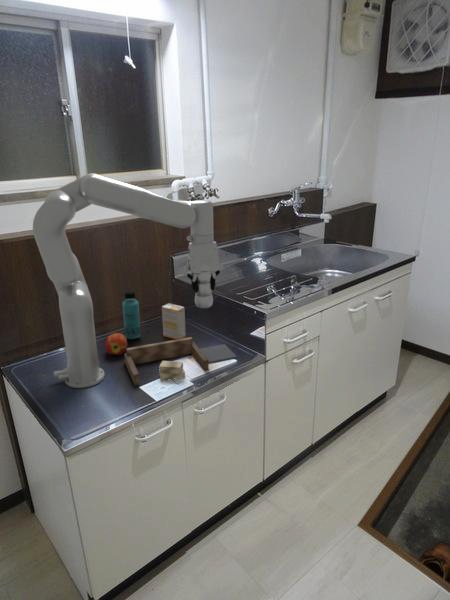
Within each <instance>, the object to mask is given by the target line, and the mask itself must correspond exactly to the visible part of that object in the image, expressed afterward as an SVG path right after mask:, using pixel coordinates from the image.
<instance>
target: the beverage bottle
mask: <svg viewBox="0 0 450 600" xmlns="http://www.w3.org/2000/svg"><path fill="white" fill-rule="evenodd" d="M124 298H125V300H123V302H122V303H121V304H122V317H123V318H122V319H123V321H122V322H123V323H122V324H123V331H124V333H123V335H124V336H125V337H126V339H127V340H135V339H138V338H140V337H141V333H142V332H141V319H140V307H139V306H140V305H139V304H140V303H139V301H138V300H137V299H136V292H135V291H134V290H127V291H125V292H124Z"/></svg>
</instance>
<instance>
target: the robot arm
mask: <svg viewBox="0 0 450 600" xmlns="http://www.w3.org/2000/svg"><path fill="white" fill-rule="evenodd" d="M91 205H94V206H98V207H101V208H106V209H109V210H114V211H117V212H121V213H125V214H128V215H130V216H131V215H132V216H135V217H138V218H140V219H146V220H150V221H152V222H157V223H161V224H163V225H168V226H170V227H174V228H177V229H178V228H179V229H189V227H190V233H189V236H186V240H187V241H190V242H189V243H188V250H187V259H186V260H187V263H186V264H185V266H184V267H183V269H182V270H181V273H182V274H183V275H184V276H186V277H187V278H188V279H190V282H191V284H190V285H191V290H192V291H193V292H194V293H195V294H196V293H197V292H198V283H197V281H196V278H197V274H200V273H202V272H201V268H202V266H204V265H209V267H210V272H212V274H211V290H212V291H215V287H216V279H217V277H218V276H219V275H220V273H221V271H223V270H224V269H225V266H224V265H223V264H222V263H221V262H220V258H219V256H220V255H219V249H218V244H217V241H214V240H215V239H214V238H215V237H214V204H213V202H212V201H211V200H207V199H197V200H192V201H191V200H173V199H170V198H167V197H164V196H161V195H158V194H156V193H154V192H151V191H149V190H147V189H144V188H142V187H139V186H137V185H134V184H129V183H125V182H122V181H119V180H115V179H112V178H108V177H105V176H102V175H99V174H98V173H92V172H91V173H87V174H85V175H83V176H81V177H79V178H77V179H75V180H73V181H71V182H69V183H67V184H65V185H64V186H63V185H62V186H61V187H59V188H57V189H55V190H53V191H51V192H49V194H48V195H46V197H45V199H44V202H43V204H42V205H41V206H40V207H39V208H38V210H37V211H36V212H35V215H34V218H33V222H32V232H33V236H34V240H35V242H36V243H35V244H36V245H37V247H38V250H39V253H40V257H41V259H42V262H43V265H44V266H45V271H46V273H47V276H48V278H49V280H50V281H51V282H52V283H53V285H54V288H55V291H56V293H57V296H58V304H59V305H58V308H59V313H60V319H61V320H60V321H61V325H62V327H61V328H62V334H63V339H64V340H63V341H64V347H65V353H66V354H65V355H66V363H67V365H66V368H63V370H55V371H53V377H54V378H58V380H63V379H64V384H65V385H67V386H68V387H70V388H73V389H74V388H76V389H84V388H90V387H93V386H95V385H98V384H100V382H102V381H103V380H104V378H105V376H106V375H105V371H104V369H103V368H101V367H100V364H99V356H98V347H97V340H96V330H95V319H94V317H95V316H94V306H93V305H94V303H93V300H92V296H91V293H90V290H89V287H88V284H87V282H86V279H85V276H84V274H83V270H82V269H81V265H80V262H79V261H78V258H77V256H76V255H75V254H74V253H73V251H72V248H71V246H70V242H69V239H68V237H67V233H66V228H67V225H68V224H69V223H70V222H71V221H72V220H73V219H74V217H75V215H76V213H77V212H79V211H81V210H83V209H85V208H87V207H90V206H91ZM188 271H190V273H191V274H190V273H189V272H188Z"/></svg>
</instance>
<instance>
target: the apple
mask: <svg viewBox="0 0 450 600" xmlns="http://www.w3.org/2000/svg"><path fill="white" fill-rule="evenodd" d="M124 335H125V334H123V333H119V332H114V333H112V334H111V333H110V335H108V336H107V338H106V339H105V344H104V347H105V348H104V349H105V350H106V352H107V353H108V354H109V355H112V356H120V355H122V354H125V352H126V348H128V341H127V340H128V338H126V337H125V336H124Z"/></svg>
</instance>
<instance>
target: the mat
mask: <svg viewBox="0 0 450 600" xmlns="http://www.w3.org/2000/svg"><path fill="white" fill-rule="evenodd" d="M199 349H200V350H201V351H202V353H203V354H204V355H205V356H206V358H207V359H208V360H209V364H213V363H219V362H222V361H228V360H233V359H237V355H236V354H235V353H234V352H233V351H232V350H231V349H230V348H229V347H228V346H227V344H224V343H223V344H217V345H214V346H213V345H211V346H209V347H202V348H199Z"/></svg>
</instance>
